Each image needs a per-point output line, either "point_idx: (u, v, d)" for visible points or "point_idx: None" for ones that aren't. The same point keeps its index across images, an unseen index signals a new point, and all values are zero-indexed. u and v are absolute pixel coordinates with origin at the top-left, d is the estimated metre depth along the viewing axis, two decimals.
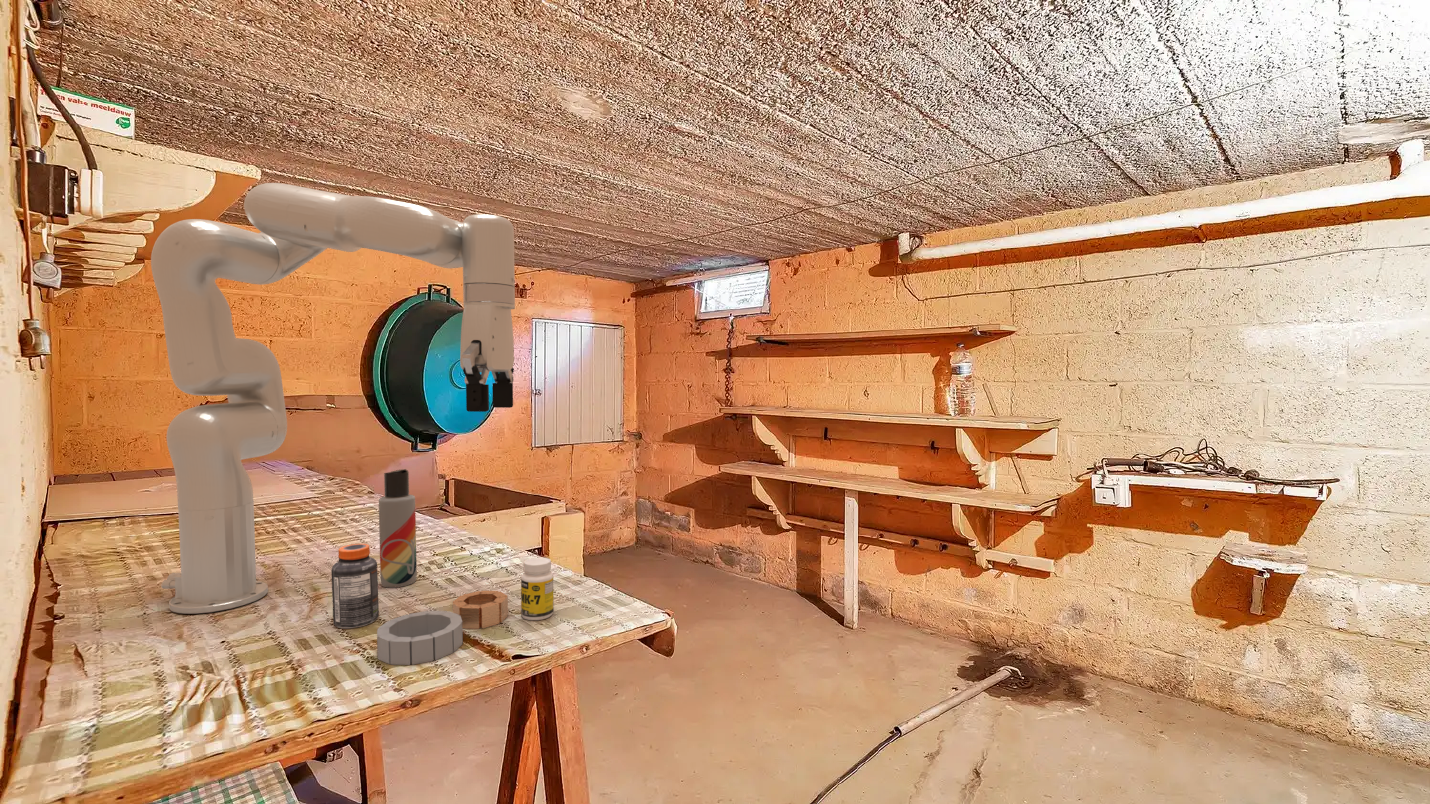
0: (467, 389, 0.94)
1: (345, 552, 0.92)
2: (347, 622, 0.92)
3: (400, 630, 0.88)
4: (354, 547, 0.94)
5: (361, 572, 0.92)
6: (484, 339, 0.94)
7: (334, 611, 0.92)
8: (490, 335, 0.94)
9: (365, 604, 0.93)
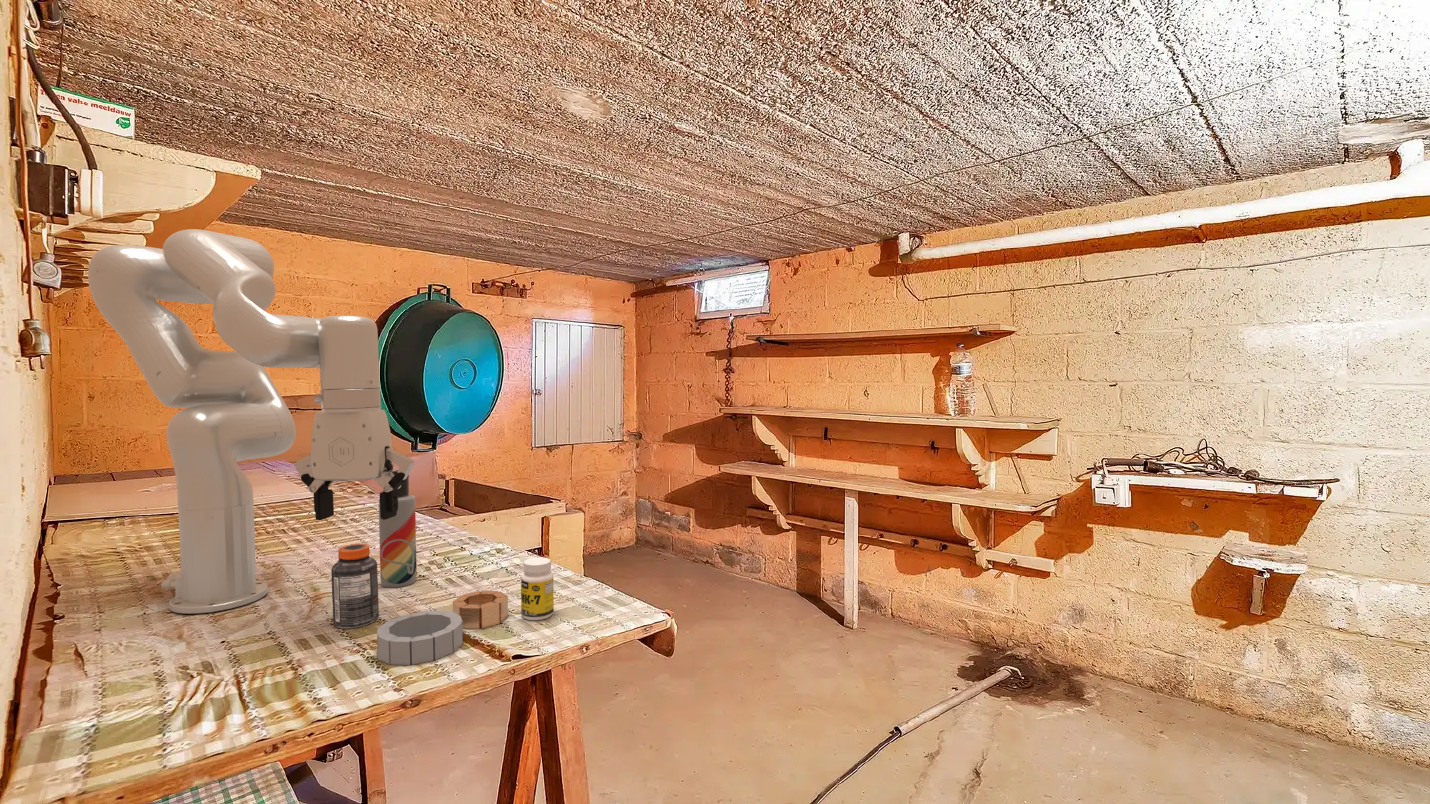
0: (384, 497, 0.92)
1: (345, 552, 0.92)
2: (347, 622, 0.92)
3: (400, 630, 0.88)
4: (354, 547, 0.94)
5: (361, 572, 0.92)
6: (390, 444, 0.94)
7: (334, 611, 0.92)
8: None
9: (365, 604, 0.93)
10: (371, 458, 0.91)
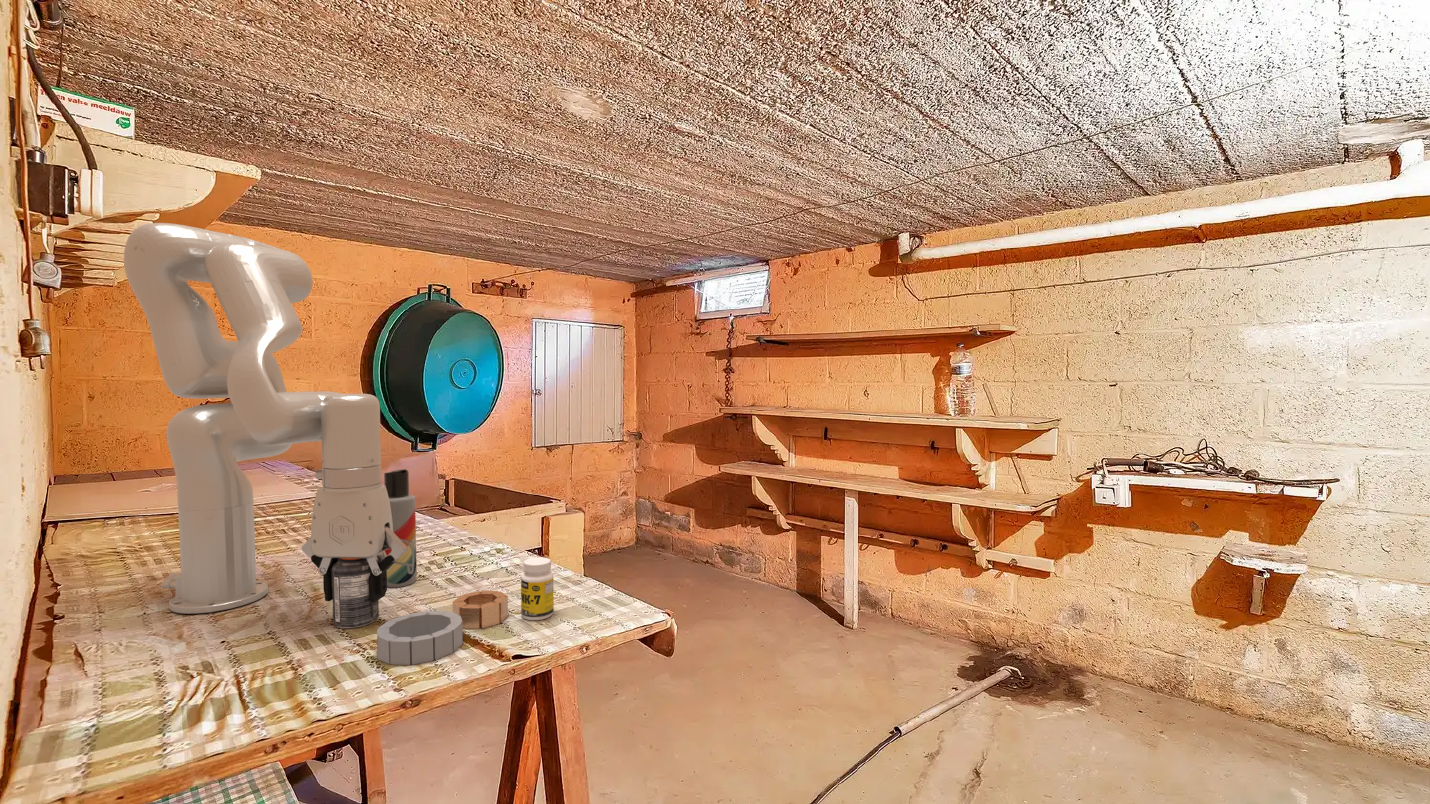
0: (373, 580, 0.93)
1: None
2: (347, 622, 0.92)
3: (400, 630, 0.88)
4: None
5: (361, 571, 0.92)
6: (390, 520, 0.95)
7: (334, 611, 0.92)
8: (391, 515, 0.96)
9: (366, 604, 0.93)
10: (371, 537, 0.91)
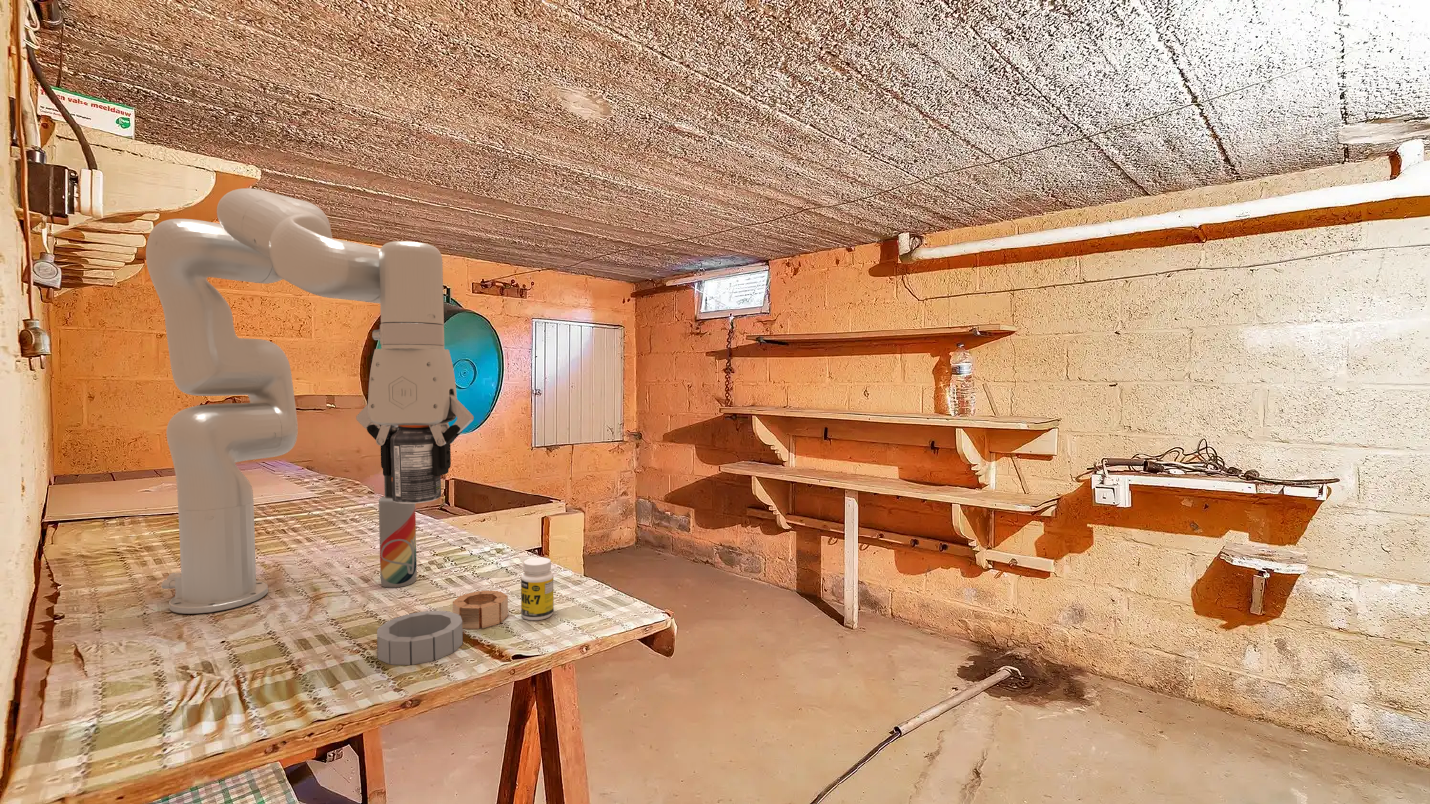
0: (437, 451, 0.83)
1: None
2: (409, 496, 0.82)
3: (400, 630, 0.88)
4: None
5: (424, 440, 0.83)
6: (455, 387, 0.85)
7: (394, 485, 0.83)
8: (454, 383, 0.86)
9: (428, 478, 0.83)
10: (436, 400, 0.82)
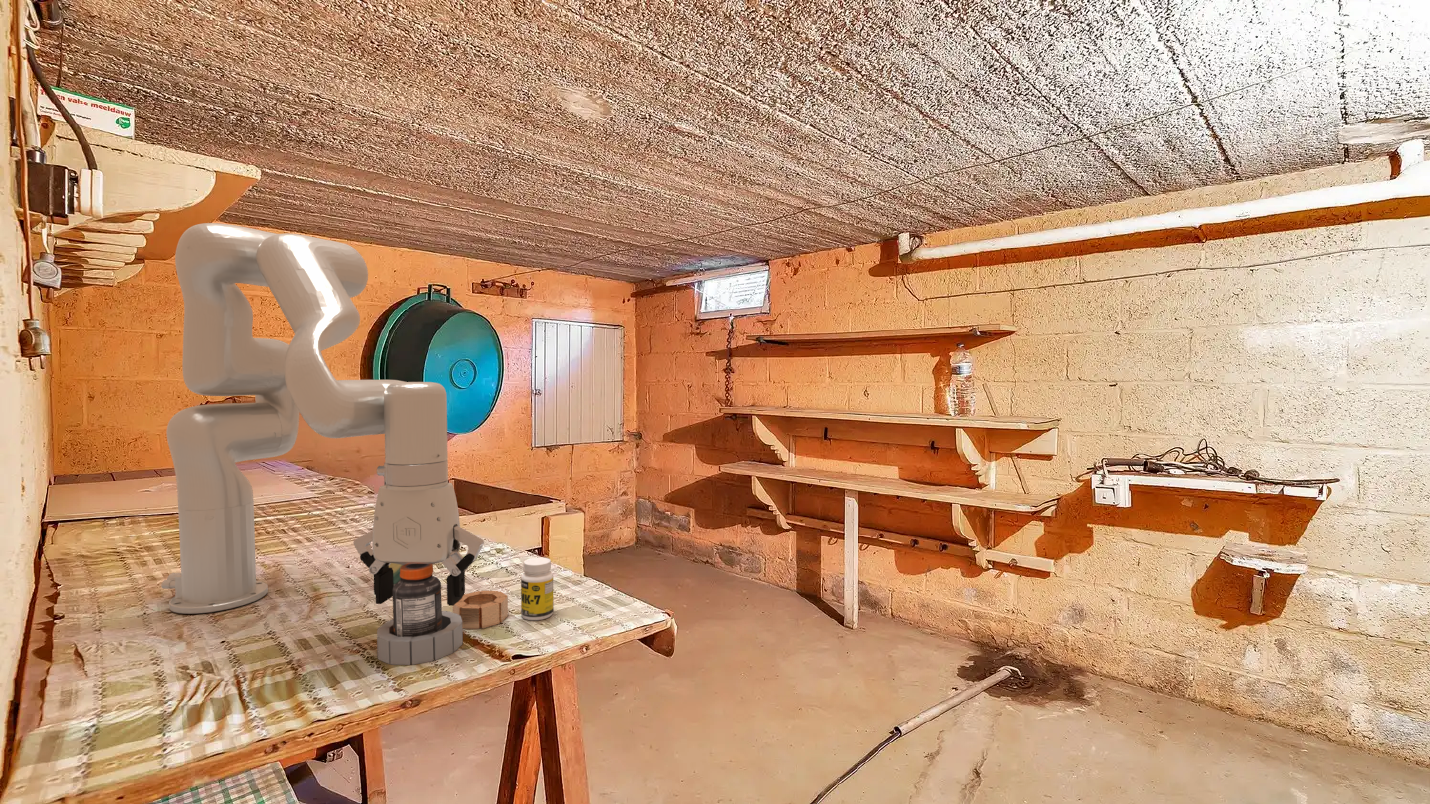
0: (452, 581, 0.84)
1: (408, 572, 0.84)
2: None
3: None
4: (418, 566, 0.85)
5: (426, 593, 0.84)
6: (458, 521, 0.86)
7: None
8: (458, 516, 0.87)
9: (430, 629, 0.84)
10: (439, 540, 0.82)
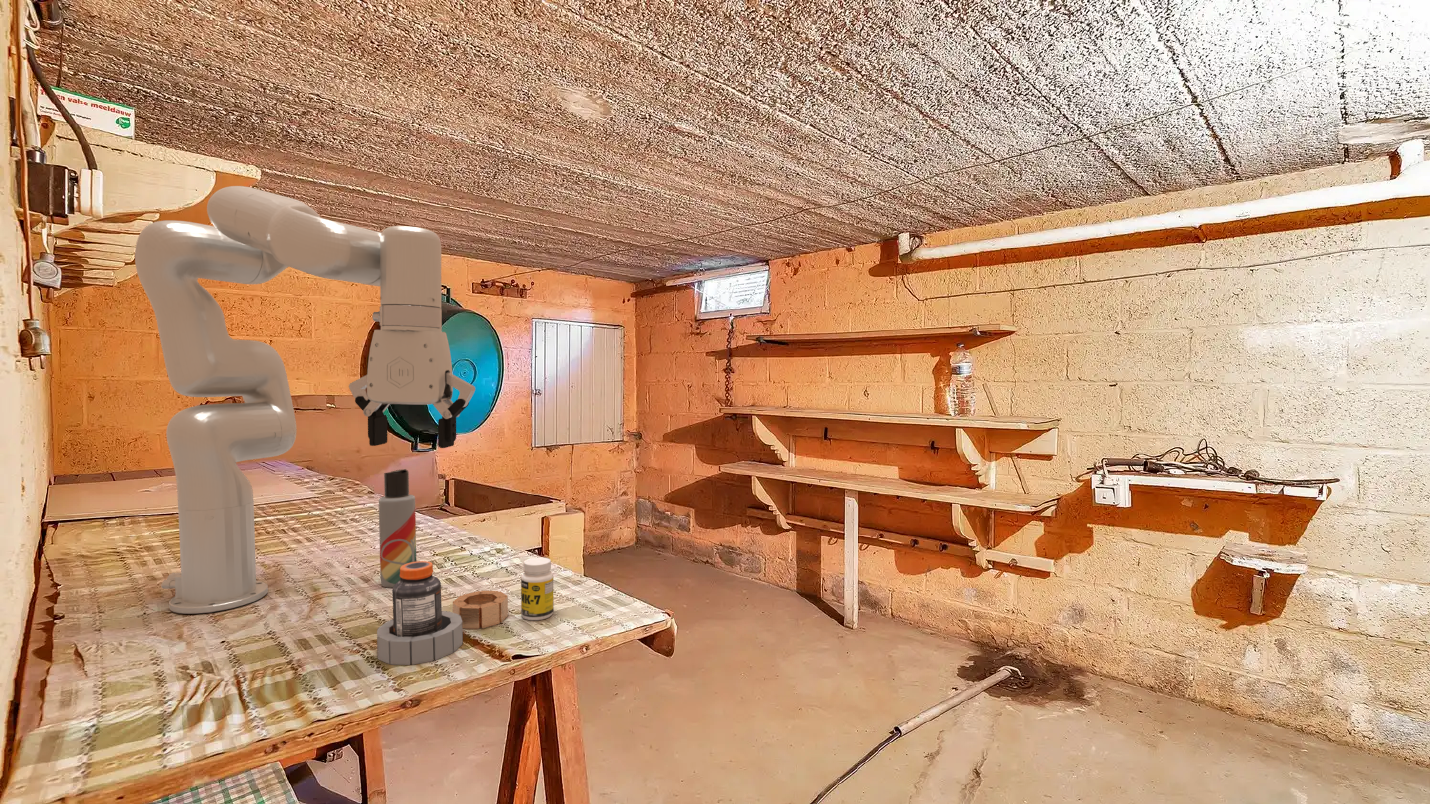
0: (443, 424, 0.86)
1: (408, 572, 0.84)
2: None
3: None
4: (417, 566, 0.85)
5: (426, 593, 0.84)
6: (451, 369, 0.88)
7: None
8: None
9: (430, 629, 0.84)
10: (431, 381, 0.85)
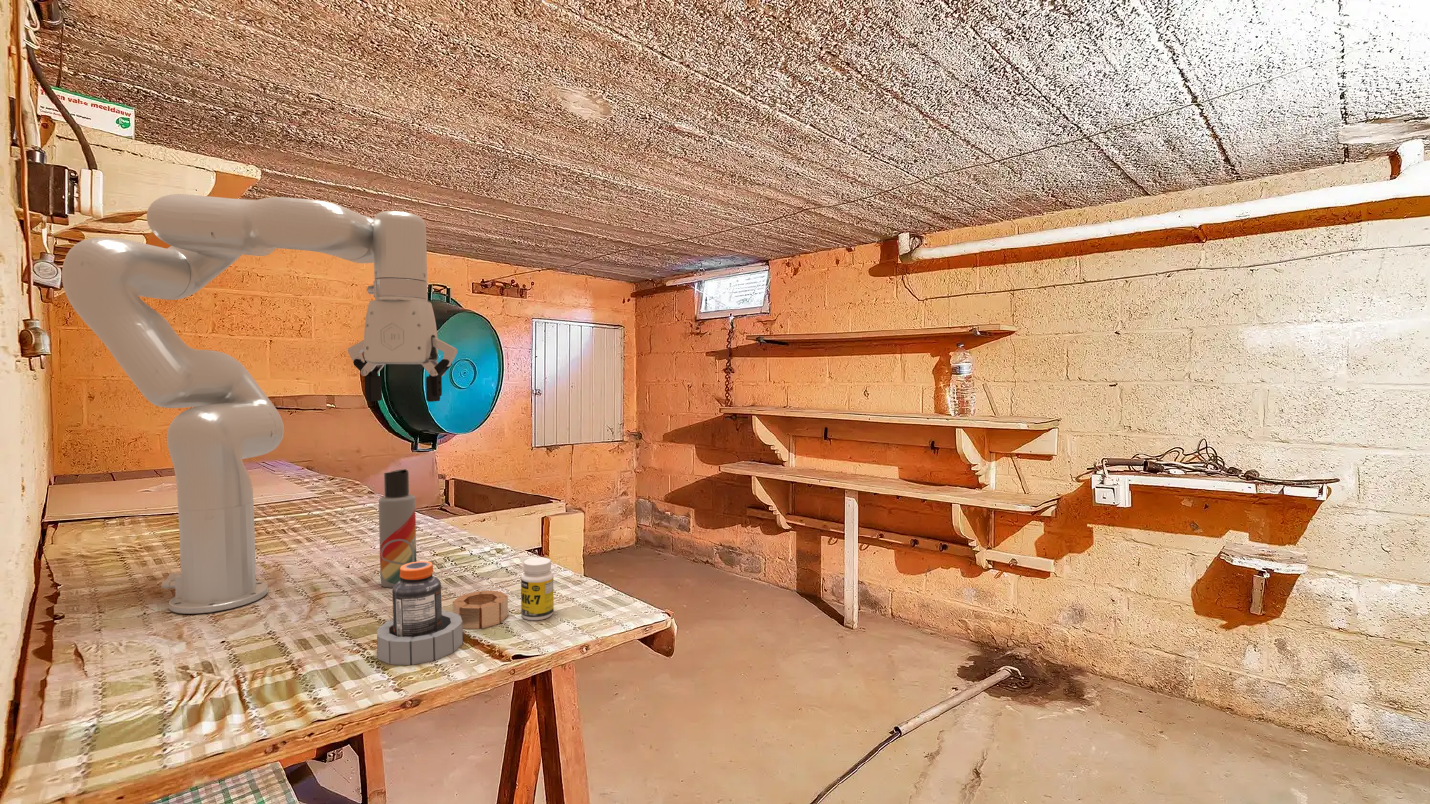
0: (430, 381, 1.00)
1: (408, 572, 0.84)
2: None
3: None
4: (417, 566, 0.85)
5: (426, 593, 0.84)
6: (436, 334, 1.02)
7: None
8: None
9: (430, 629, 0.84)
10: (420, 343, 0.99)
